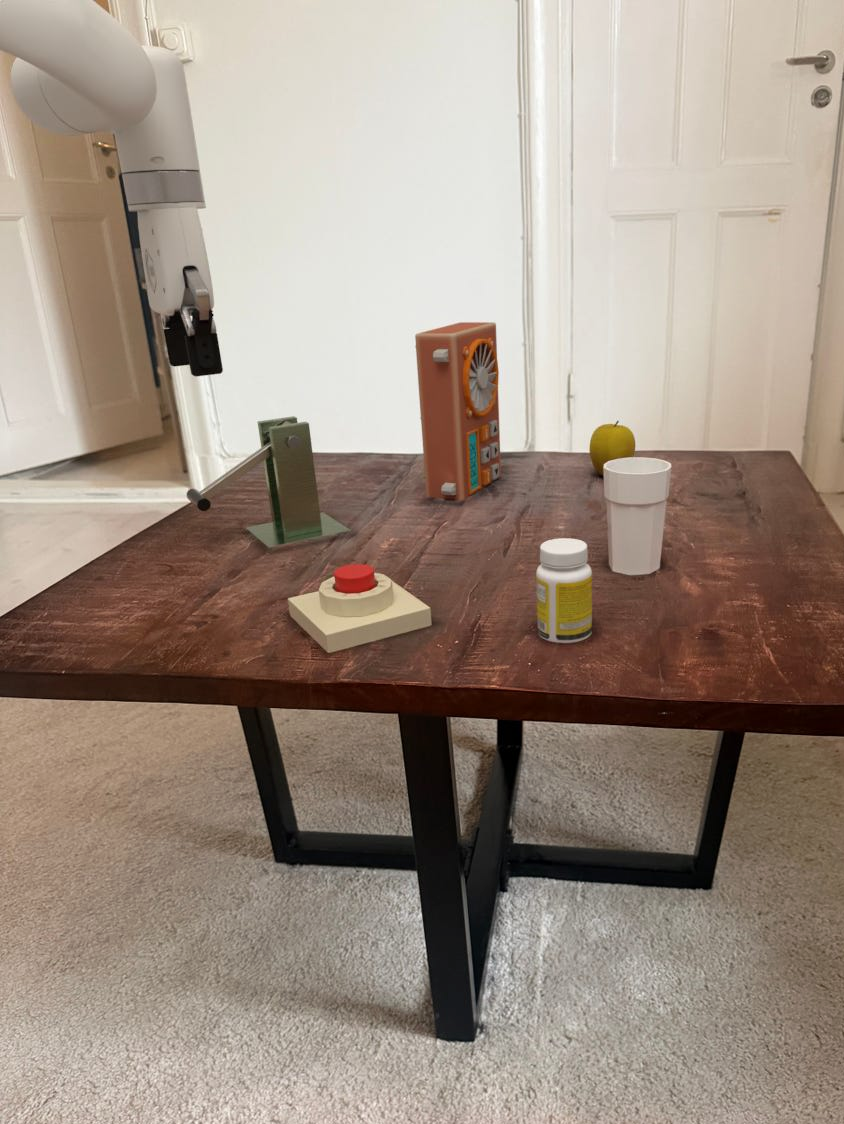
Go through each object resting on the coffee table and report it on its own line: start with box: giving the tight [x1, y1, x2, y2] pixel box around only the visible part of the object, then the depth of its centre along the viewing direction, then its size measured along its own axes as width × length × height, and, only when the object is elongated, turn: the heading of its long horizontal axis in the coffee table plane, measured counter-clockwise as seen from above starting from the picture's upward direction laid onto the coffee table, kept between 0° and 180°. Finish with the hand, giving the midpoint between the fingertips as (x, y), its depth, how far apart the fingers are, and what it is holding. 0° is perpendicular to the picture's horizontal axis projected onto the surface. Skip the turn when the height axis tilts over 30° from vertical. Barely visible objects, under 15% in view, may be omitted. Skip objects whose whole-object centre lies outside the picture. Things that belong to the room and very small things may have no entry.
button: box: [333, 563, 376, 594], centre depth 81 cm, size 4×4×2 cm
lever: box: [186, 421, 291, 512], centre depth 101 cm, size 14×5×2 cm, turn 120°
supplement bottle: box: [535, 537, 593, 644], centre depth 77 cm, size 5×5×8 cm
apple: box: [589, 420, 636, 477], centre depth 124 cm, size 6×6×8 cm
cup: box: [603, 456, 672, 576], centre depth 90 cm, size 7×7×11 cm
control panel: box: [414, 321, 502, 501], centre depth 116 cm, size 21×7×15 cm
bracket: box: [245, 415, 351, 548], centre depth 104 cm, size 10×9×14 cm
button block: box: [287, 572, 433, 654], centre depth 82 cm, size 10×10×4 cm
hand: (195, 369), depth 97 cm, fingers open, 9 cm apart
